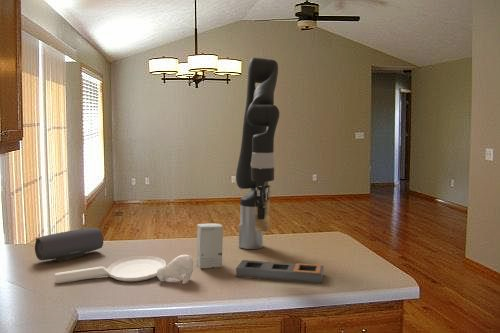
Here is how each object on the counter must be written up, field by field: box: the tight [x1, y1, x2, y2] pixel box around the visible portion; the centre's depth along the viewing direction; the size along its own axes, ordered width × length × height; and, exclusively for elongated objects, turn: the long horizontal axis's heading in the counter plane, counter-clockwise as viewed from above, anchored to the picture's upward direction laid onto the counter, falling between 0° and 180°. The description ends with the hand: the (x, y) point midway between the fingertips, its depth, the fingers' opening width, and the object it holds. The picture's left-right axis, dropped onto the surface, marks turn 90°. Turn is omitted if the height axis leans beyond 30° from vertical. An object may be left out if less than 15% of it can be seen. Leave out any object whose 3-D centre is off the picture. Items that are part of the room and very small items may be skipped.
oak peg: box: [255, 198, 271, 232], centre depth 156 cm, size 4×4×10 cm
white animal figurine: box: [156, 254, 194, 285], centre depth 151 cm, size 6×8×12 cm
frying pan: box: [54, 255, 167, 284], centre depth 155 cm, size 35×19×5 cm, turn 111°
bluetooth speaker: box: [34, 227, 104, 261], centre depth 176 cm, size 23×9×10 cm, turn 135°
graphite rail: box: [235, 259, 325, 284], centre depth 157 cm, size 28×9×3 cm, turn 77°
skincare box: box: [196, 222, 224, 270], centre depth 166 cm, size 8×6×15 cm
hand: (262, 217), depth 156 cm, fingers closed on oak peg, 4 cm apart
